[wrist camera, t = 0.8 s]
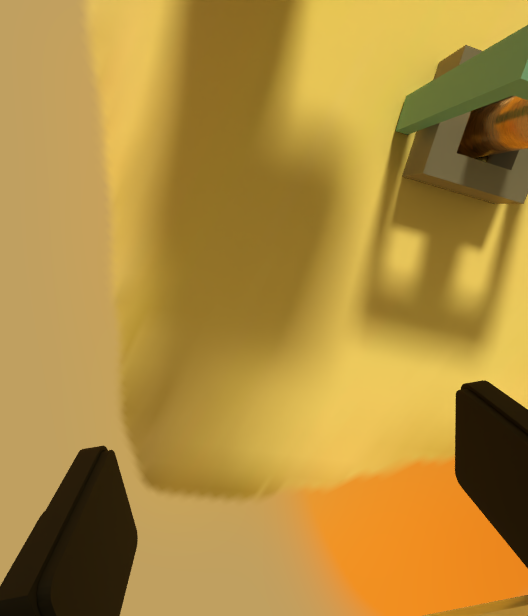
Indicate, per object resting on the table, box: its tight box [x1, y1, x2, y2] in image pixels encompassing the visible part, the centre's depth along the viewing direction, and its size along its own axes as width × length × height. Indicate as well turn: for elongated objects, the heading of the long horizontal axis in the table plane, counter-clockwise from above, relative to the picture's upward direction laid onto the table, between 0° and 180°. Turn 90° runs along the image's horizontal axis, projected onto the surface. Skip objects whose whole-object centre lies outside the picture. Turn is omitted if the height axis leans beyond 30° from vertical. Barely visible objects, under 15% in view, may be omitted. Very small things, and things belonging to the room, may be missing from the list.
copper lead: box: [457, 96, 528, 158], centre depth 31 cm, size 4×4×12 cm
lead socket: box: [403, 45, 528, 204], centre depth 35 cm, size 10×10×4 cm
